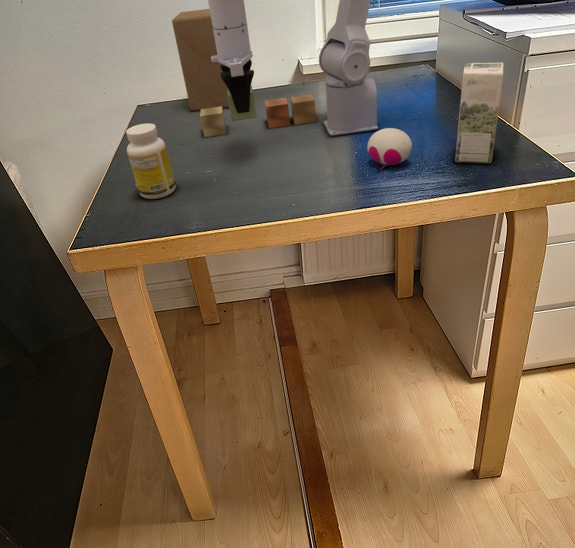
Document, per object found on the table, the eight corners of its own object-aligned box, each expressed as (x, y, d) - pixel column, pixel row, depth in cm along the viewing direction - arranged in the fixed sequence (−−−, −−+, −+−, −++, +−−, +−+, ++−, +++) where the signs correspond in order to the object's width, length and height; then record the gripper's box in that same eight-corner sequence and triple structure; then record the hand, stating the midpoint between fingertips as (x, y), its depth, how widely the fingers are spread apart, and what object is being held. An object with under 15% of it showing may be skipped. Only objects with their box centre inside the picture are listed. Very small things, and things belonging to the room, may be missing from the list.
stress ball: (365, 181, 90) (352, 159, 85) (382, 142, 92) (370, 119, 86) (405, 187, 86) (394, 165, 81) (422, 147, 88) (413, 122, 82)
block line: (313, 115, 112) (311, 93, 109) (316, 121, 108) (314, 100, 105) (204, 130, 111) (200, 109, 109) (204, 137, 107) (200, 115, 105)
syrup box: (492, 150, 87) (504, 60, 79) (491, 165, 83) (504, 71, 74) (457, 149, 89) (465, 61, 81) (454, 163, 85) (462, 71, 76)
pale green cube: (255, 110, 96) (251, 85, 94) (256, 117, 92) (253, 92, 90) (231, 113, 96) (227, 88, 93) (231, 121, 92) (227, 95, 90)
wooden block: (232, 107, 122) (216, 14, 111) (190, 111, 123) (171, 19, 111) (236, 95, 130) (222, 7, 119) (197, 99, 131) (179, 12, 119)
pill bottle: (161, 181, 91) (144, 119, 85) (183, 188, 88) (168, 124, 81) (132, 195, 88) (113, 132, 81) (155, 203, 84) (136, 138, 78)
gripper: (206, 22, 91) (220, 99, 99) (205, 37, 80) (221, 123, 87) (246, 16, 92) (256, 94, 100) (250, 31, 80) (262, 118, 88)
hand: (242, 107), depth 93 cm, fingers closed on pale green cube, 4 cm apart
